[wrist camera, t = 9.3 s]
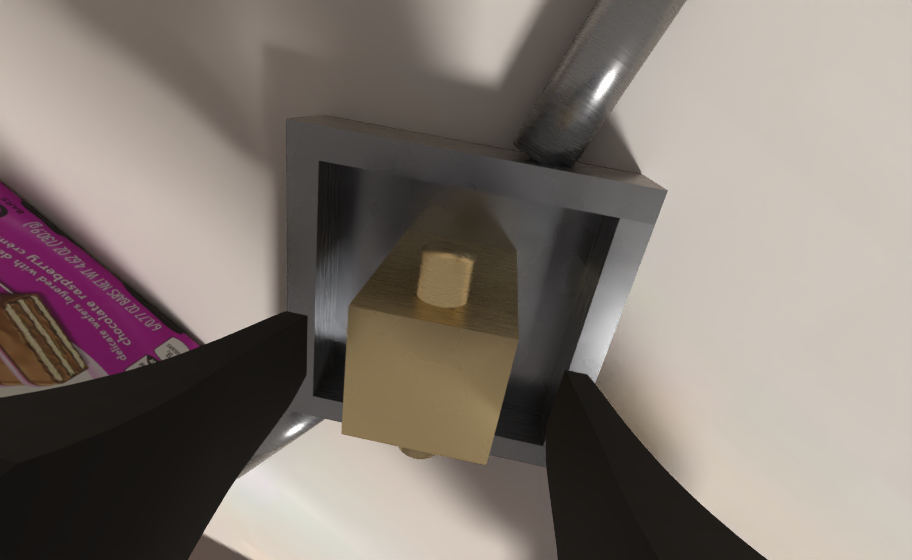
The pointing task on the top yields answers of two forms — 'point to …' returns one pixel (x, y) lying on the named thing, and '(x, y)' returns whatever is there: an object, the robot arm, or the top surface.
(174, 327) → the candy bar box
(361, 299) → the brass block with pegs
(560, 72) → the steel shaft
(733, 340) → the top surface
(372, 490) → the top surface
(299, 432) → the steel shaft
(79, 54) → the top surface
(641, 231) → the grey square tray
